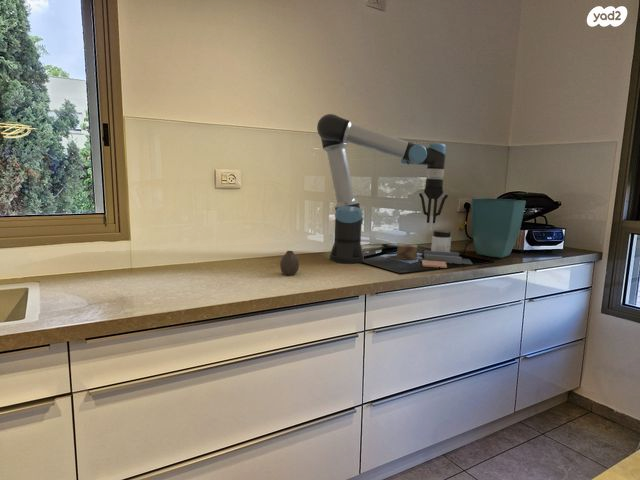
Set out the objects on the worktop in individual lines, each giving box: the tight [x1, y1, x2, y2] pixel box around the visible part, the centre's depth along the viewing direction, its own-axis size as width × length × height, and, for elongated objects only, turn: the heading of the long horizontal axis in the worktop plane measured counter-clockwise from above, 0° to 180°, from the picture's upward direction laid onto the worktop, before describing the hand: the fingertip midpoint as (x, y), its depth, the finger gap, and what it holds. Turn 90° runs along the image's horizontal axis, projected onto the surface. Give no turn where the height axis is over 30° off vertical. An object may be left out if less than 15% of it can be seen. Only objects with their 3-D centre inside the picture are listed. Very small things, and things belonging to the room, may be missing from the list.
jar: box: [430, 229, 452, 252], centre depth 205 cm, size 9×8×12 cm
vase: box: [279, 250, 300, 277], centre depth 154 cm, size 7×7×9 cm
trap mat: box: [461, 258, 474, 266], centre depth 191 cm, size 5×12×1 cm, turn 167°
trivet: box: [421, 259, 448, 269], centre depth 182 cm, size 10×10×1 cm
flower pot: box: [471, 197, 527, 259], centre depth 209 cm, size 20×20×28 cm
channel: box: [423, 250, 463, 265], centre depth 193 cm, size 16×12×3 cm
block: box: [396, 243, 418, 261], centre depth 196 cm, size 9×7×6 cm
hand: (430, 230), depth 192 cm, fingers closed
